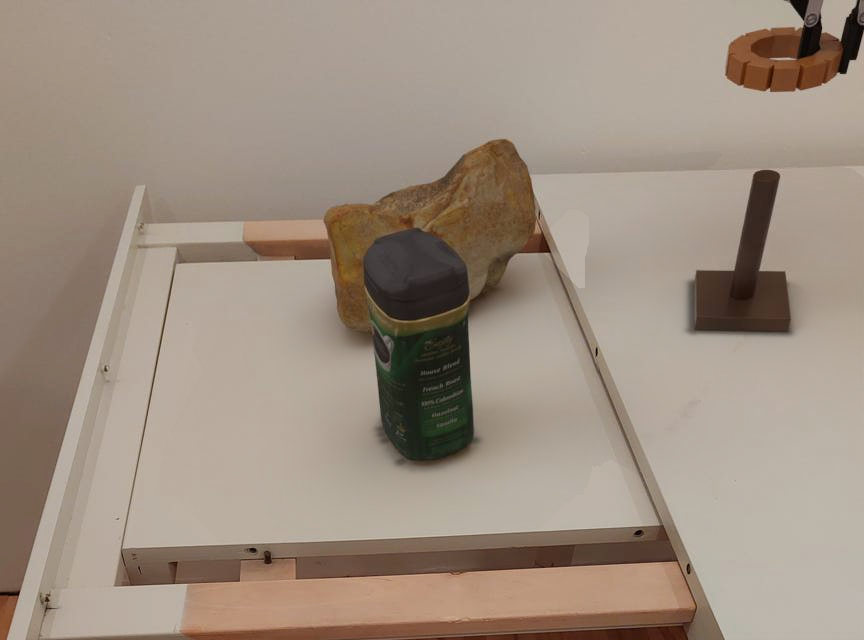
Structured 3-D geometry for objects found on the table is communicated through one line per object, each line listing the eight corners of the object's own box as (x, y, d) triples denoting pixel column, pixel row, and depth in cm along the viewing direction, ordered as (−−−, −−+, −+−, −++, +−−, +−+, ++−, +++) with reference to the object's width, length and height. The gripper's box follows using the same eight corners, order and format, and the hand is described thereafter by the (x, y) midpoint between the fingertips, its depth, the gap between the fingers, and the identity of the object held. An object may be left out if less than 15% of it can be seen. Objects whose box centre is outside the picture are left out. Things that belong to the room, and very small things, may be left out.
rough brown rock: (483, 238, 113) (471, 104, 102) (553, 288, 102) (548, 143, 91) (307, 302, 109) (275, 169, 98) (359, 361, 98) (330, 219, 87)
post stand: (782, 284, 99) (814, 152, 88) (787, 332, 93) (822, 198, 83) (694, 282, 101) (715, 154, 90) (694, 329, 95) (717, 198, 85)
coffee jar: (487, 449, 87) (483, 260, 72) (408, 475, 85) (388, 288, 71) (446, 394, 93) (435, 210, 78) (372, 417, 91) (347, 235, 77)
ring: (833, 48, 90) (838, 25, 89) (841, 90, 84) (847, 66, 83) (724, 52, 92) (728, 29, 91) (725, 93, 86) (729, 69, 85)
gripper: (989, -209, 74) (912, 51, 88) (774, -191, 77) (733, 56, 91) (1006, -187, 69) (922, 83, 83) (777, -169, 73) (734, 87, 87)
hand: (824, 67), depth 87 cm, fingers closed on ring, 2 cm apart
